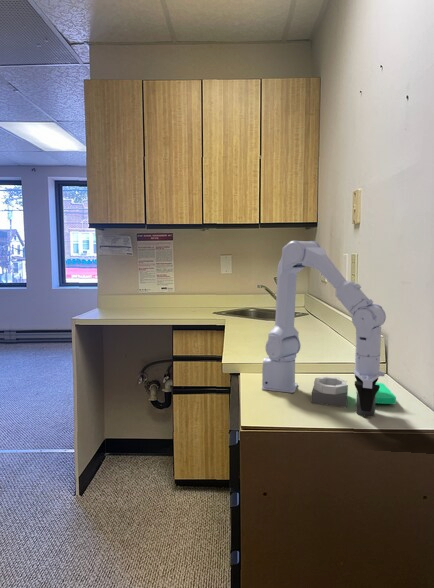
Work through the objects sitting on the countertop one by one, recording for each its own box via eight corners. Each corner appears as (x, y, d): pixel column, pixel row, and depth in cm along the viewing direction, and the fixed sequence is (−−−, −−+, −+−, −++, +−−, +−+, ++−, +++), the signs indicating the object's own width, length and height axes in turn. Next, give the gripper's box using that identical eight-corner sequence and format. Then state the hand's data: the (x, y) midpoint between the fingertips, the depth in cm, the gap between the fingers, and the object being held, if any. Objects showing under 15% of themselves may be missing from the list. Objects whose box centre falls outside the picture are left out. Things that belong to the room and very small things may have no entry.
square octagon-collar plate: (311, 403, 105) (311, 385, 105) (314, 391, 114) (315, 375, 113) (346, 407, 102) (347, 388, 102) (347, 395, 111) (348, 378, 110)
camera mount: (396, 407, 103) (398, 369, 101) (366, 406, 103) (367, 368, 102) (382, 391, 114) (383, 357, 113) (355, 390, 115) (356, 356, 114)
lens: (355, 415, 97) (356, 392, 97) (355, 408, 102) (356, 386, 101) (375, 418, 96) (376, 394, 95) (374, 411, 100) (375, 388, 99)
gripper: (387, 363, 89) (384, 420, 90) (383, 348, 102) (381, 398, 104) (354, 360, 91) (352, 416, 93) (354, 346, 105) (353, 395, 106)
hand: (365, 406), depth 98 cm, fingers closed on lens, 4 cm apart
